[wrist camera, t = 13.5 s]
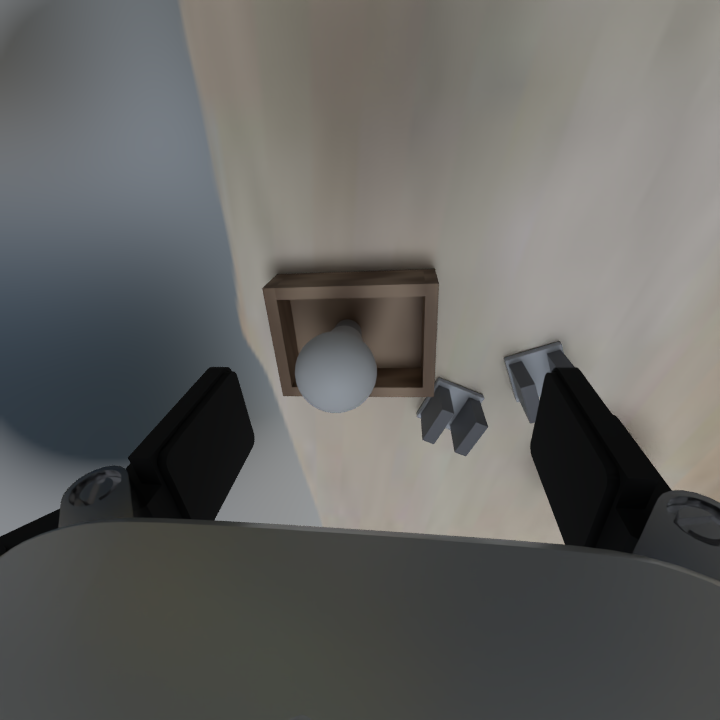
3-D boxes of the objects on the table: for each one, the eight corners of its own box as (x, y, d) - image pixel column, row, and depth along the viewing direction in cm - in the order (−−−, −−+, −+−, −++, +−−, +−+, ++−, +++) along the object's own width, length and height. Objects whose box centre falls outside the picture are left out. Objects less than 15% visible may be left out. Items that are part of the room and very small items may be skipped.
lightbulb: (310, 301, 34) (274, 360, 24) (377, 293, 33) (367, 351, 23) (324, 359, 36) (296, 432, 27) (385, 353, 35) (379, 427, 26)
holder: (434, 269, 32) (438, 283, 28) (430, 373, 37) (433, 397, 33) (277, 274, 33) (262, 288, 30) (294, 373, 38) (283, 395, 35)
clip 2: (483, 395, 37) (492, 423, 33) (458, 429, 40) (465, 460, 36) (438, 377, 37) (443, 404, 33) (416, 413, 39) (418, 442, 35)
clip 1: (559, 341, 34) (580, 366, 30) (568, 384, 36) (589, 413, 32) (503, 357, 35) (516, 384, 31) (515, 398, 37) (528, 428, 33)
